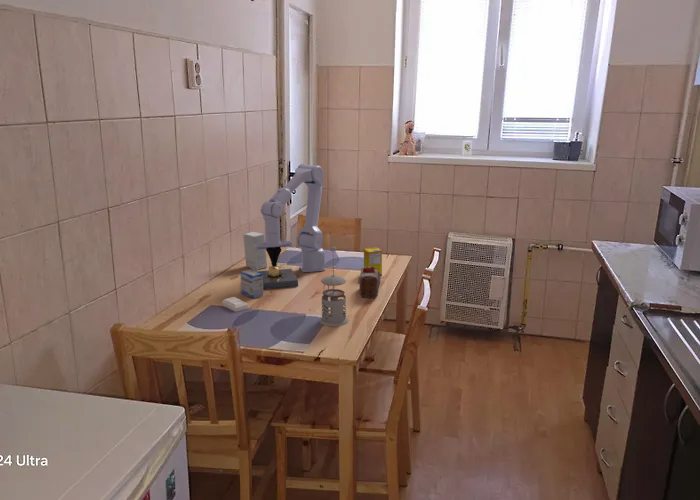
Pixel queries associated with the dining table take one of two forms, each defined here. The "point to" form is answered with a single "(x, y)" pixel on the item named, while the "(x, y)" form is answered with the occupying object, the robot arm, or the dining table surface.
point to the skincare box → (251, 255)
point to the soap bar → (235, 304)
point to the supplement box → (373, 258)
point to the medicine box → (252, 283)
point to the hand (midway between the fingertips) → (274, 265)
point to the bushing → (274, 272)
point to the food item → (369, 282)
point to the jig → (278, 279)
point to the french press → (333, 301)
